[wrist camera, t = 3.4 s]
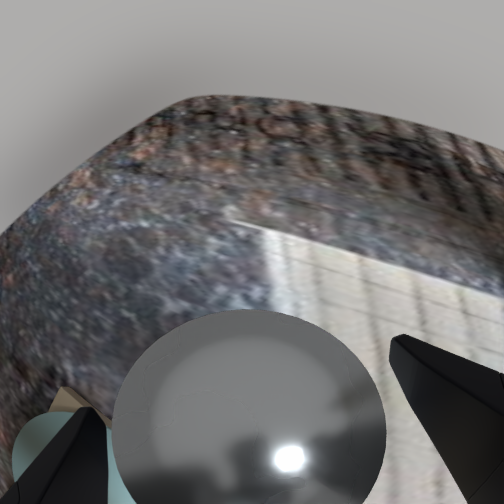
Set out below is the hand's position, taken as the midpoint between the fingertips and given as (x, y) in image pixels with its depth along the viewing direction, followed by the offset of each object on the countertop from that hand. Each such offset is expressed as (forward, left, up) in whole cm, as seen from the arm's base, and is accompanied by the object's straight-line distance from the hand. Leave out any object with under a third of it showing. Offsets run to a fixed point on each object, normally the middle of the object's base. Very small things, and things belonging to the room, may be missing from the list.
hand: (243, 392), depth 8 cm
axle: (-1, -1, -7) cm, 7 cm away
